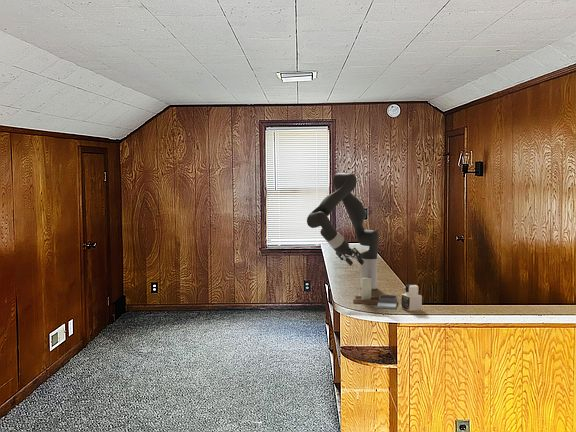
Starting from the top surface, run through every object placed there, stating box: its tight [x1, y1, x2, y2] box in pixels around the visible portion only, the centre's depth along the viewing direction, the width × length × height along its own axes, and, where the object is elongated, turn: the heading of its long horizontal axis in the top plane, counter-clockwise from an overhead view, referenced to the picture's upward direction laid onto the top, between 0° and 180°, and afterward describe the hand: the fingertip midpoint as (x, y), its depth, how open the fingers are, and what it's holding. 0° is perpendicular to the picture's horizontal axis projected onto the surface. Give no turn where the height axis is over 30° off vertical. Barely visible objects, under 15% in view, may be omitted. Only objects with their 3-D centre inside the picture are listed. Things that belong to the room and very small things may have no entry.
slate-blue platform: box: [376, 301, 398, 310], centre depth 294 cm, size 8×9×1 cm
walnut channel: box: [352, 295, 380, 305], centre depth 305 cm, size 9×12×2 cm
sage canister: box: [360, 278, 372, 300], centre depth 304 cm, size 5×5×12 cm
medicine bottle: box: [401, 283, 423, 312], centre depth 289 cm, size 7×7×12 cm
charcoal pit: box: [378, 294, 398, 304], centre depth 302 cm, size 8×8×3 cm
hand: (357, 263), depth 302 cm, fingers open, 8 cm apart
